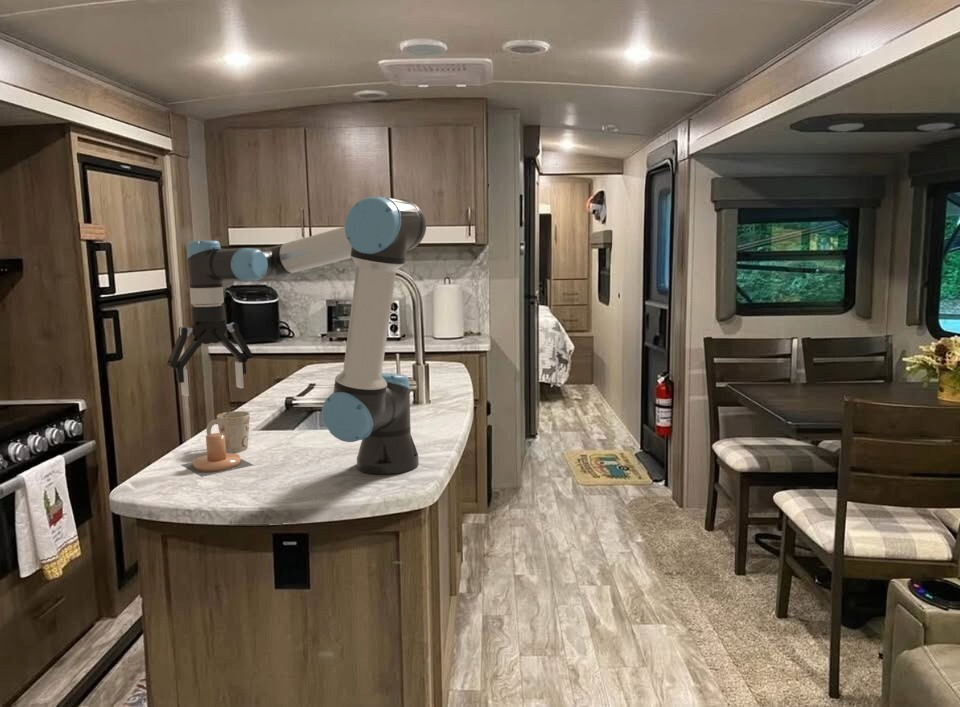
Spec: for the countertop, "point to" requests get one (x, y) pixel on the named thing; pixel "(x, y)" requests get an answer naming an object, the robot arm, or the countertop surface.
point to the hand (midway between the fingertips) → (213, 391)
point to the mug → (233, 429)
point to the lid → (216, 455)
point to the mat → (202, 473)
